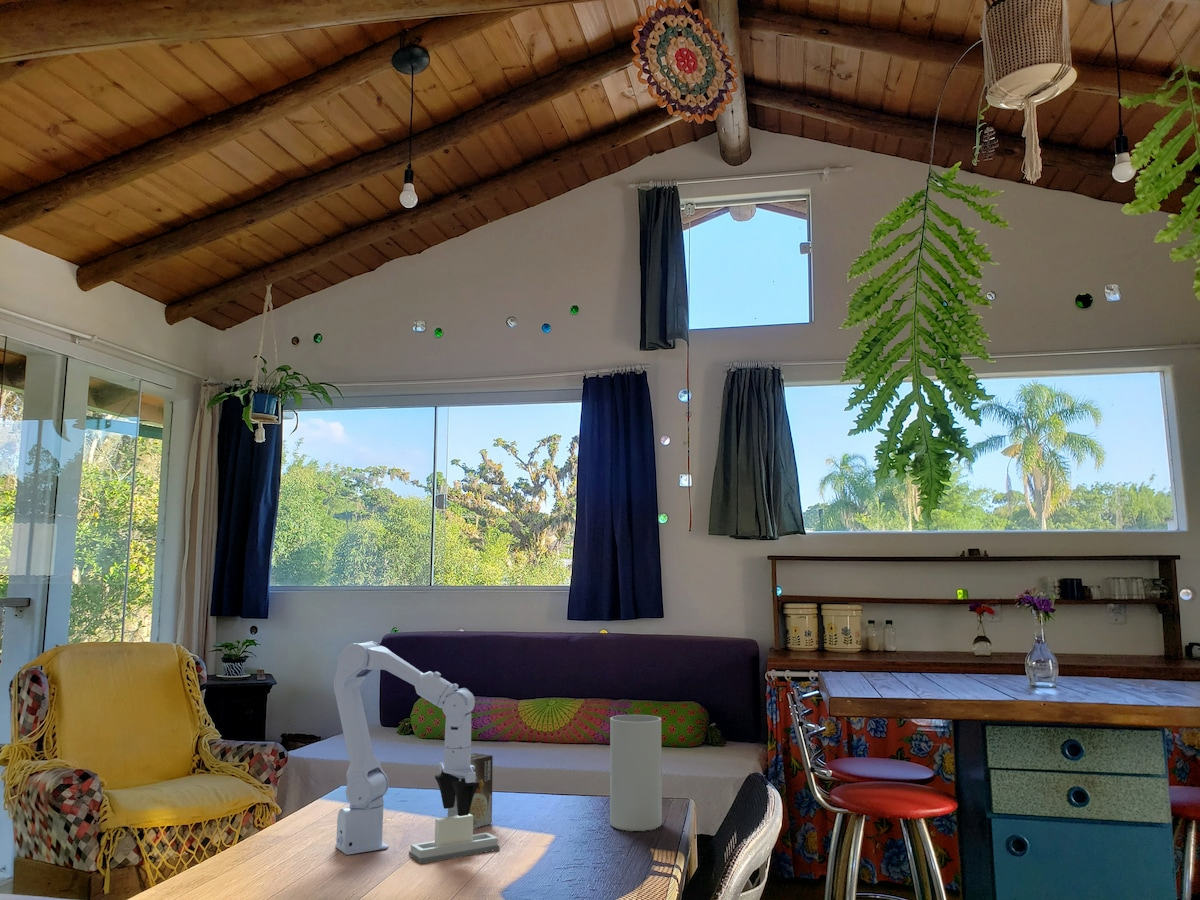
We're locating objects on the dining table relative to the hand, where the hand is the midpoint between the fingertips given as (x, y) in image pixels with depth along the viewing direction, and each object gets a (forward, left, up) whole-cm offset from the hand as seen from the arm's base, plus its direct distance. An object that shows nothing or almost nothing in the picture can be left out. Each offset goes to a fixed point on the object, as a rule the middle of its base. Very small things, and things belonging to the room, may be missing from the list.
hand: (455, 811), depth 193 cm
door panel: (0, 0, -8) cm, 8 cm away
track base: (0, 0, -8) cm, 8 cm away
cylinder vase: (+46, -3, -9) cm, 47 cm away
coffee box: (+12, +18, -9) cm, 23 cm away
